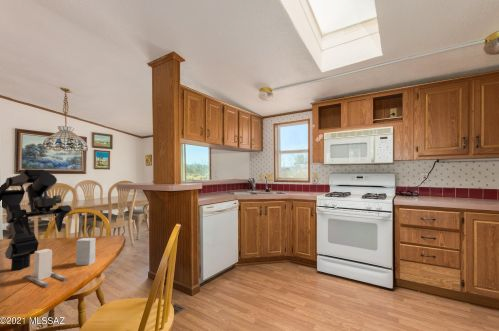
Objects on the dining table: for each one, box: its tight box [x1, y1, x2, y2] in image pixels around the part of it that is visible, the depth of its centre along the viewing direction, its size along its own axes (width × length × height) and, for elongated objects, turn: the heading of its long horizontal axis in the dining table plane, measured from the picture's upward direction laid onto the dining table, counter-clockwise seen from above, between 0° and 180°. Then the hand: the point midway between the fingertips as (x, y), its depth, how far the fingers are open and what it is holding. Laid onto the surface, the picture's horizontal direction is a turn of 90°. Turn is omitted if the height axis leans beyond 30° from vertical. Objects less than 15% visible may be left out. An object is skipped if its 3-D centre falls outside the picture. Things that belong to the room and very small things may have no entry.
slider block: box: [32, 248, 53, 281], centre depth 90 cm, size 4×4×10 cm
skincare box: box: [75, 237, 97, 266], centre depth 104 cm, size 6×4×12 cm
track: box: [24, 270, 68, 289], centre depth 89 cm, size 17×7×2 cm, turn 62°
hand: (45, 233), depth 90 cm, fingers open, 9 cm apart
